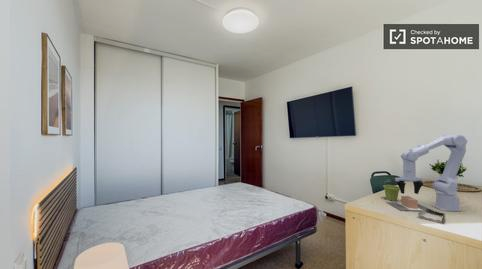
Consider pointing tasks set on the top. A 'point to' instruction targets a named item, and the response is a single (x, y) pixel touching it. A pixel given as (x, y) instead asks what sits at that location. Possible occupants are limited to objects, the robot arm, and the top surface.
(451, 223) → the top surface
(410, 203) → the terracotta card box
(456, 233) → the top surface
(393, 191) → the plant pot
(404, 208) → the charcoal mat
